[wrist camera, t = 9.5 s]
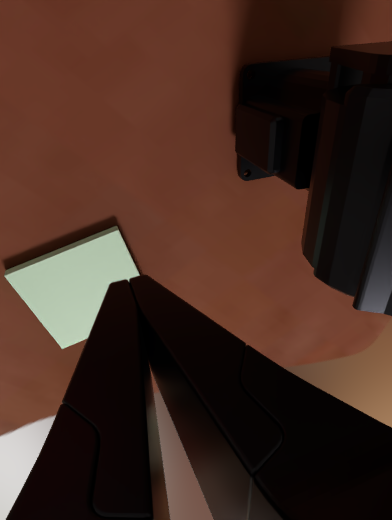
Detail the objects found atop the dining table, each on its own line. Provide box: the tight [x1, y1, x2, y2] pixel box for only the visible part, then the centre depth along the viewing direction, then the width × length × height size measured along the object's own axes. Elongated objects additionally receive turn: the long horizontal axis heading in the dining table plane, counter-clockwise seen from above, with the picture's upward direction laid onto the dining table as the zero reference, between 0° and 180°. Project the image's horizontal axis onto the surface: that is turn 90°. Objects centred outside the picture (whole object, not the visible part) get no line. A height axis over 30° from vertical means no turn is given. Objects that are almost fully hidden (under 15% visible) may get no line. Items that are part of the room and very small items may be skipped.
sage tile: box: [4, 226, 140, 349], centre depth 23 cm, size 7×7×1 cm
